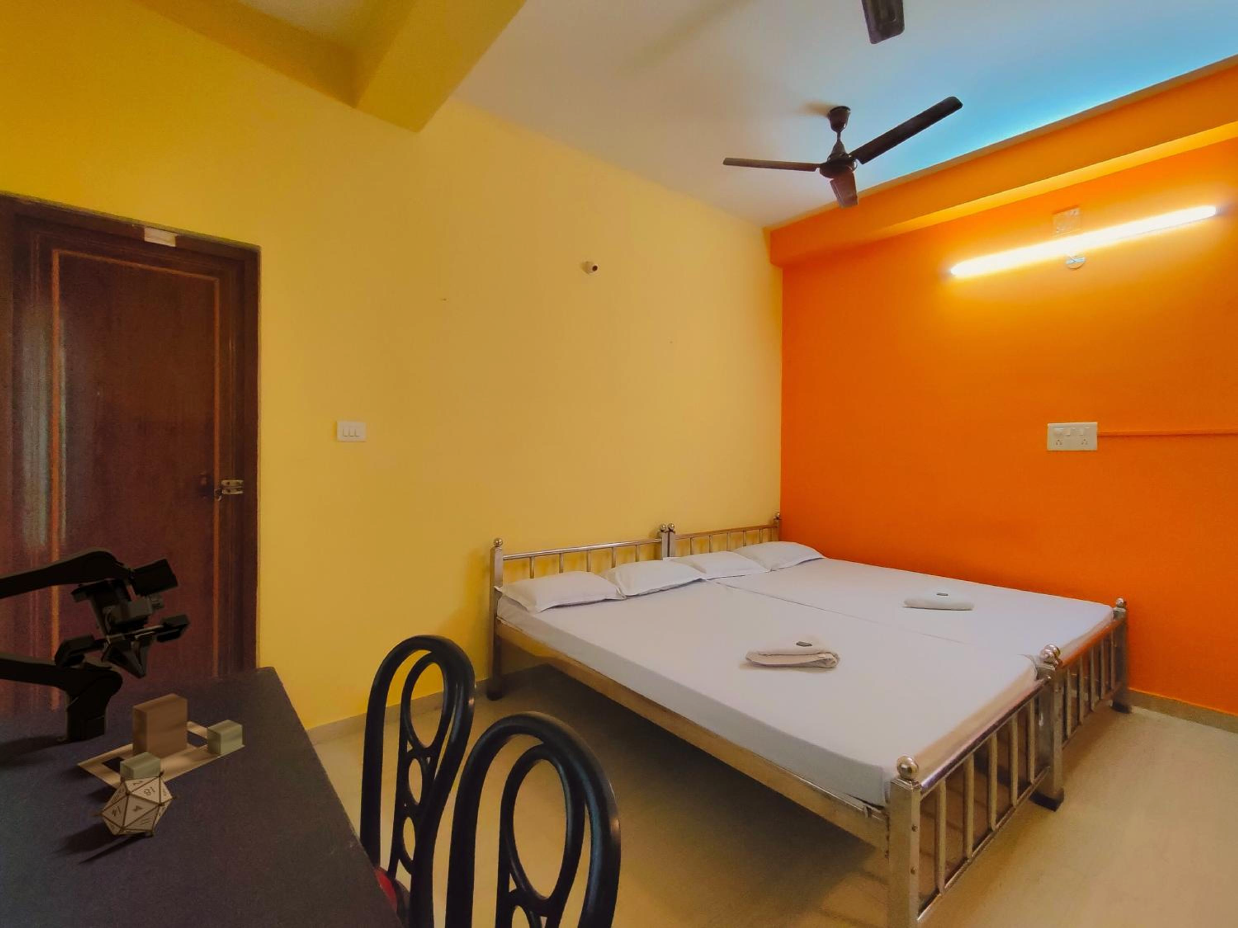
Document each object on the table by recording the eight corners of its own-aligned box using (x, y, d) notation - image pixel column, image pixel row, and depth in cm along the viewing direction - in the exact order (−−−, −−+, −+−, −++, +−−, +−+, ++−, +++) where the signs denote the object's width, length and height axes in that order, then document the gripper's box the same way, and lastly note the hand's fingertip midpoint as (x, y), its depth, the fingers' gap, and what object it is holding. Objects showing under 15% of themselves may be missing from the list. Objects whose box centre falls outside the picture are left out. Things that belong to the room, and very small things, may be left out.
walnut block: (132, 756, 97) (132, 706, 97) (172, 741, 103) (172, 693, 102) (146, 764, 95) (146, 713, 95) (187, 748, 100) (187, 699, 100)
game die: (138, 865, 79) (114, 839, 73) (94, 835, 81) (67, 807, 75) (198, 803, 86) (181, 775, 80) (156, 777, 88) (137, 747, 82)
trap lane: (77, 770, 95) (76, 740, 95) (190, 727, 110) (190, 701, 110) (130, 804, 86) (130, 771, 86) (245, 751, 102) (245, 724, 101)
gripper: (60, 593, 95) (90, 670, 90) (185, 572, 111) (216, 636, 107) (41, 631, 99) (69, 706, 94) (165, 605, 115) (194, 668, 111)
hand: (143, 676), depth 101 cm, fingers closed
